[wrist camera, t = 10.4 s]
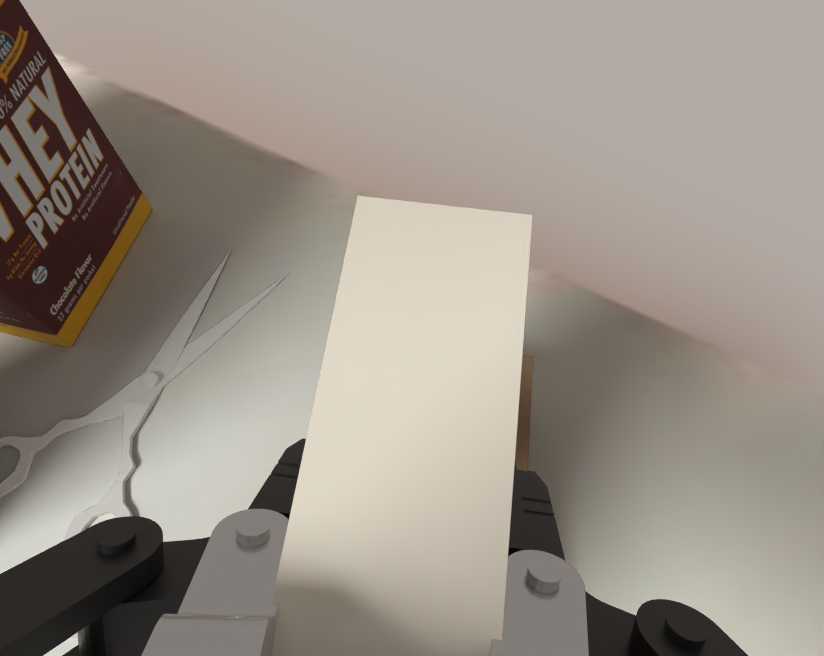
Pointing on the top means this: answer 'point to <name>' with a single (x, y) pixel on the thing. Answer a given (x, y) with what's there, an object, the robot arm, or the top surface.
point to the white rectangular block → (410, 440)
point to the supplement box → (55, 193)
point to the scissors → (133, 404)
